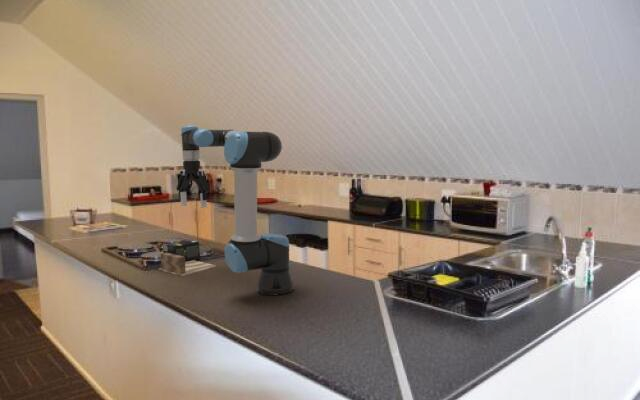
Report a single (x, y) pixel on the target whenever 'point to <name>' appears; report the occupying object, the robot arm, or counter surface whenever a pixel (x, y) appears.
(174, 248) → the tampon box
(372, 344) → the counter surface
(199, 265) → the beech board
